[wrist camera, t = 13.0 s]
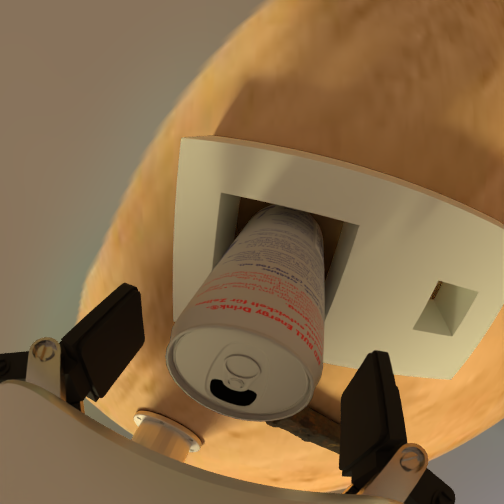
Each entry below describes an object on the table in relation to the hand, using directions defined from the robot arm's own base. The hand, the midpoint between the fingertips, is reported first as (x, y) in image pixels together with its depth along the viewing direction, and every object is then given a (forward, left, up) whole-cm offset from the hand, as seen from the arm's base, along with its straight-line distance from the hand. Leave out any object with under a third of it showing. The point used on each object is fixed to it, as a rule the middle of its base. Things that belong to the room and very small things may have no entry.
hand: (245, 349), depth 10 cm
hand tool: (-21, -12, -10) cm, 26 cm away
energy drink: (+1, 0, -10) cm, 10 cm away
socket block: (+1, -5, -10) cm, 11 cm away
